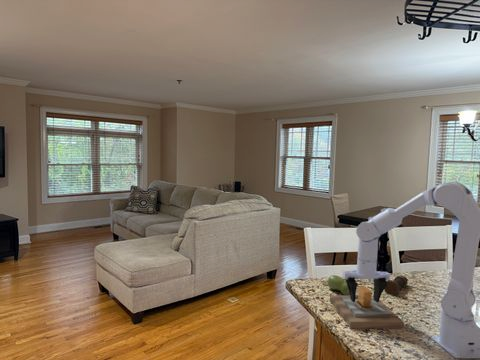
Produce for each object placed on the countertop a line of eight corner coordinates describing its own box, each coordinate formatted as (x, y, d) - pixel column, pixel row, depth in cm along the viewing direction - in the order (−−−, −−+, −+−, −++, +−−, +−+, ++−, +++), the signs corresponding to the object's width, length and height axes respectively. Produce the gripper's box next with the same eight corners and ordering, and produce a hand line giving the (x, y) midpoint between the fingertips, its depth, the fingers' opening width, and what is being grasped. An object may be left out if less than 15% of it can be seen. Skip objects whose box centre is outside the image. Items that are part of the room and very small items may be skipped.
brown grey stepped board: (403, 328, 96) (404, 315, 96) (350, 328, 95) (351, 314, 95) (374, 301, 114) (375, 290, 114) (329, 300, 113) (330, 289, 113)
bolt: (405, 289, 131) (392, 299, 120) (394, 280, 134) (380, 288, 123) (414, 279, 129) (401, 288, 118) (402, 269, 131) (389, 277, 120)
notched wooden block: (370, 317, 102) (372, 292, 102) (362, 317, 102) (364, 292, 102) (363, 310, 107) (365, 286, 106) (356, 310, 107) (358, 286, 106)
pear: (334, 271, 127) (357, 283, 119) (331, 284, 128) (354, 296, 120) (326, 274, 123) (349, 287, 116) (323, 287, 124) (346, 300, 117)
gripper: (383, 255, 108) (380, 295, 109) (340, 254, 107) (337, 295, 108) (394, 262, 101) (391, 305, 102) (348, 261, 100) (345, 304, 101)
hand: (364, 300), depth 104 cm, fingers open, 7 cm apart
